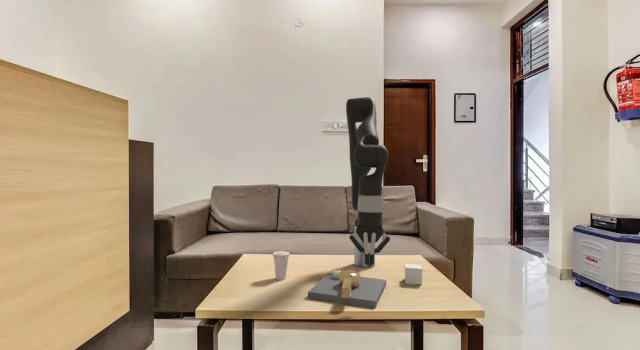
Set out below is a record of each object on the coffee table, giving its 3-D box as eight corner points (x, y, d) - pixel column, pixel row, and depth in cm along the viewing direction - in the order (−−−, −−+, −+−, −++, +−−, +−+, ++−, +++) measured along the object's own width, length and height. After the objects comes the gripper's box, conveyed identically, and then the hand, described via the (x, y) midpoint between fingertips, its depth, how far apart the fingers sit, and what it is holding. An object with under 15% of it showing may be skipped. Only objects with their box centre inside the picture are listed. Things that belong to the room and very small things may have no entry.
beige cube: (422, 285, 123) (422, 268, 122) (405, 283, 124) (405, 267, 124) (420, 280, 128) (421, 264, 128) (404, 278, 130) (404, 263, 130)
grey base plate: (328, 278, 129) (328, 266, 129) (386, 285, 122) (386, 272, 122) (307, 297, 108) (308, 283, 108) (375, 307, 101) (375, 292, 101)
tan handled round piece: (340, 280, 119) (340, 269, 119) (360, 282, 118) (360, 270, 118) (333, 299, 101) (334, 286, 101) (357, 301, 100) (357, 288, 100)
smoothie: (286, 281, 124) (286, 244, 124) (269, 280, 125) (270, 243, 125) (291, 276, 130) (291, 240, 130) (275, 275, 132) (276, 239, 132)
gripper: (391, 209, 105) (390, 263, 106) (349, 207, 107) (348, 261, 108) (392, 212, 98) (391, 270, 98) (347, 210, 100) (346, 268, 100)
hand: (369, 265), depth 103 cm, fingers closed
